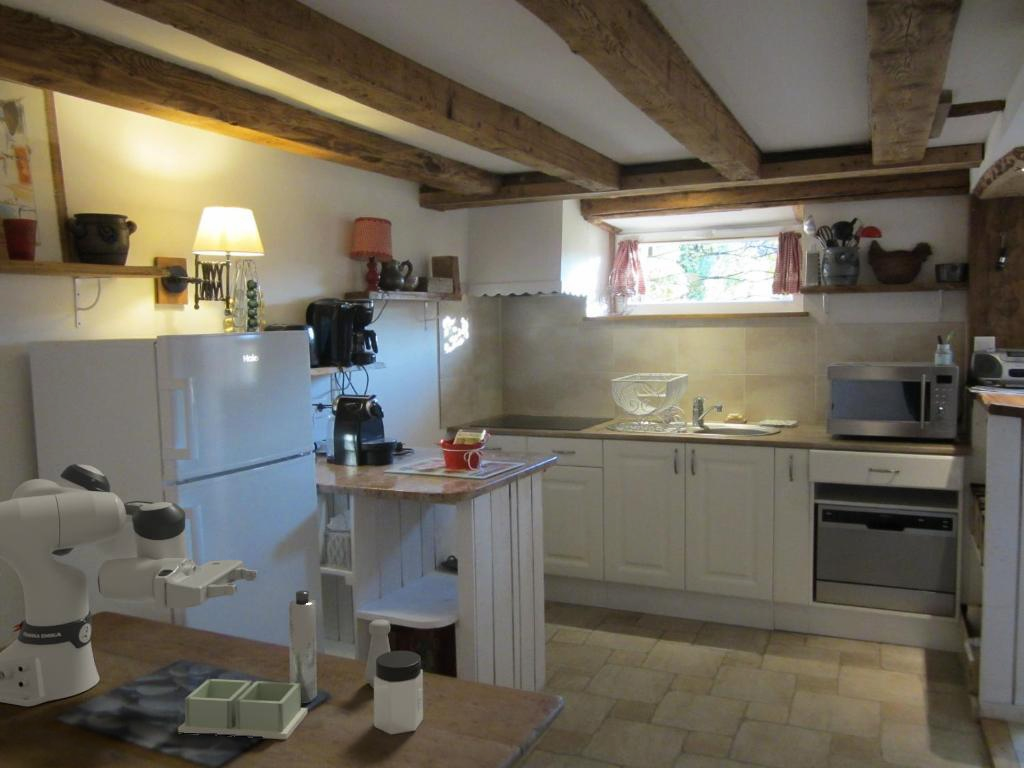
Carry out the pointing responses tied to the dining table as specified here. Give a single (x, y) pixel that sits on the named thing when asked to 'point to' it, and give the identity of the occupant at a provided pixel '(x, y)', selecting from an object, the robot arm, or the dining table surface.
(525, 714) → the dining table surface
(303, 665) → the pepper mill
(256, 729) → the green divided tray
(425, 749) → the dining table surface
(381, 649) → the salt shaker
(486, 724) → the dining table surface
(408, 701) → the jar
